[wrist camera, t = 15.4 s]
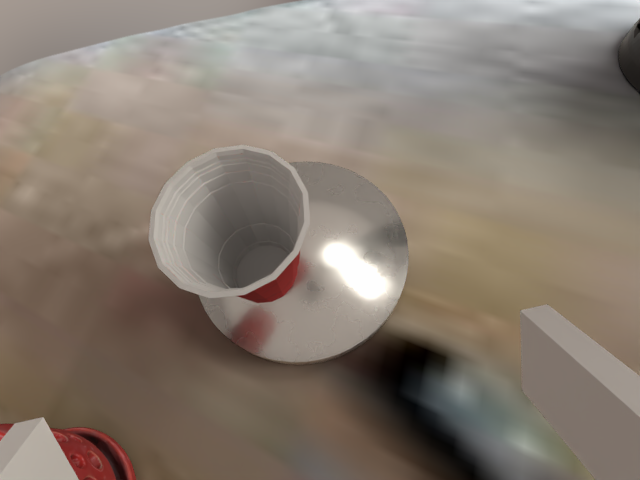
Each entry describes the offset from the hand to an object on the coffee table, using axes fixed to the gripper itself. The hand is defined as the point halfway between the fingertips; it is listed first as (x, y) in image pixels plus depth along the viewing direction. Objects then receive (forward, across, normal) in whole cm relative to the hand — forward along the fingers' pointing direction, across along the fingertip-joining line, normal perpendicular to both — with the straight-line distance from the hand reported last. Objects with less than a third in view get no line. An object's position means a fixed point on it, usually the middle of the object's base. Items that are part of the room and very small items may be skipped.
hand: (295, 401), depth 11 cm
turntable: (+28, 0, -7) cm, 29 cm away
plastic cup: (+25, -4, -7) cm, 26 cm away
